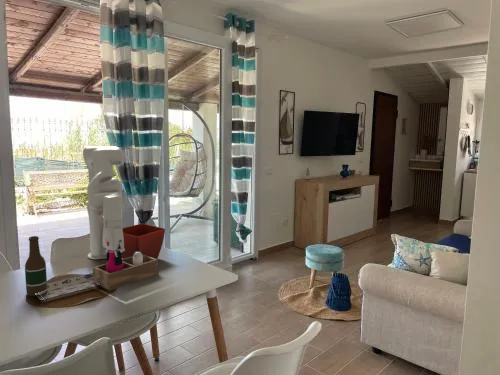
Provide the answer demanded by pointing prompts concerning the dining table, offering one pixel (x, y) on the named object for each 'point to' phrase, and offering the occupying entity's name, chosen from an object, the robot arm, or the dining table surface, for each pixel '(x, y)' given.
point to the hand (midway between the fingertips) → (114, 262)
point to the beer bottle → (35, 269)
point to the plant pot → (143, 240)
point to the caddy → (125, 273)
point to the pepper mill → (112, 262)
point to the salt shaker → (137, 258)
